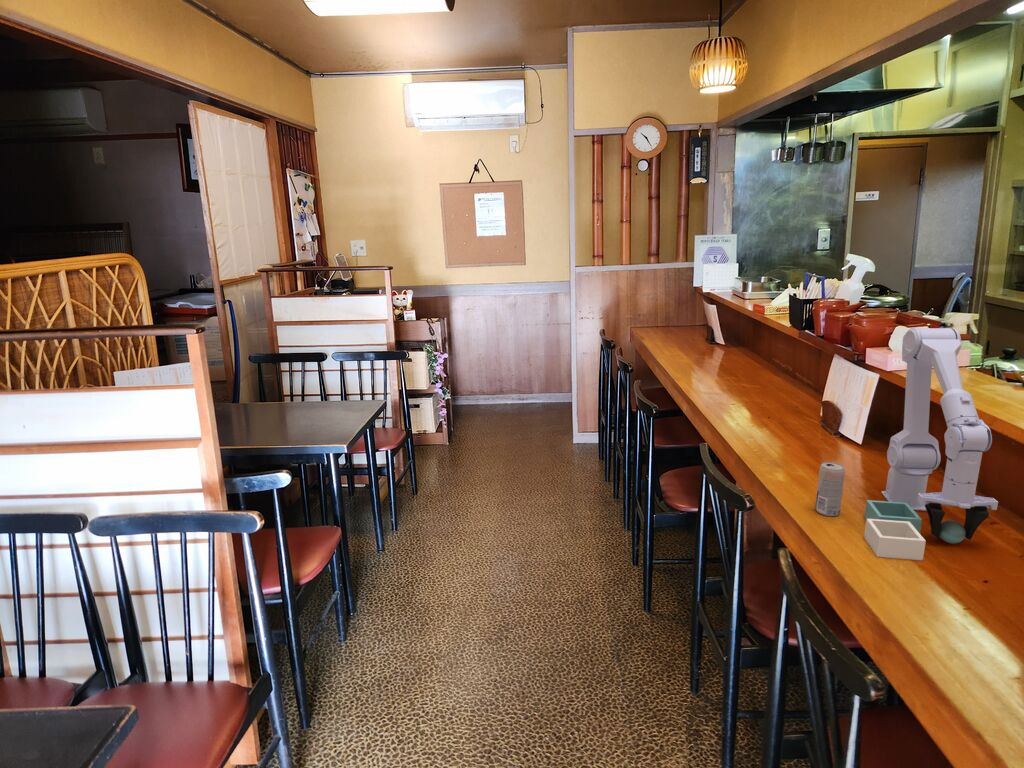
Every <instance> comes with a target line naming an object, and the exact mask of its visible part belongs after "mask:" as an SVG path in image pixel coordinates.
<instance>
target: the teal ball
mask: <svg viewBox="0 0 1024 768" xmlns="http://www.w3.org/2000/svg"><path fill="white" fill-rule="evenodd" d="M965 535H966V532H965V529H964V525H962V523H960V522H958V521H957V520H953V519H946V520H944V521H943V520H942V522H941V527H940V534H939V538H940V539H941V540H942V541H944V542H946V543H948V544H958V543H961V542H962V541H963V540H964V539H966V537H965Z"/></svg>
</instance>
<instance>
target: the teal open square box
mask: <svg viewBox="0 0 1024 768" xmlns="http://www.w3.org/2000/svg"><path fill="white" fill-rule="evenodd" d="M864 519H865V520H866V519H880V520H894V521H908V522H910V523H911V524H912V525H913V526H914V527H915V529H916V530H917V531H918V532H919V533H920V534H921V530H922V523H923V519H922V518H921V517H920V515H918V513H917V512H916V510H913V509H912V508H911V507H910V505H909V504H908V503H903V502H888V500H886V501H885V500H870V499H866V502H865V511H864Z"/></svg>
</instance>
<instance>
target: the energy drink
mask: <svg viewBox="0 0 1024 768" xmlns="http://www.w3.org/2000/svg"><path fill="white" fill-rule="evenodd" d="M845 470H846V469H845V466H844V465H843V464H841V463H838V462H832V461H824V462H821V464H820V467H819V471H818V472H819V473H818V481H817V489H816V499H815V509H814V510H815V511H816V512H817V514H820V516H821V515H822V516H825V517H837V516H839V515H841V506H842V499H843V492H844V491H843V490H844V483H845V474H846V473H845V472H846V471H845Z"/></svg>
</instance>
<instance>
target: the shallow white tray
mask: <svg viewBox="0 0 1024 768" xmlns="http://www.w3.org/2000/svg"><path fill="white" fill-rule="evenodd" d="M863 538H864V540H865V541H866V542H867V544H868V545H869V547H870V548H871V550H872V552H873V553H874V554H875V556H876V557H878V558H888V559H898V560H901V559H902V560H913V561H923V560H924V556H925V555H924V554H925V548H926V542H927V540H926V539H925V538H924V537H923V536H922V535H921V532H920V533H919V532H918V531H917V530H916V529H915V527H914V526H913V525H912V524H911V523H910V522H908V521H894V520H880V519H865V527H864V534H863Z"/></svg>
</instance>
